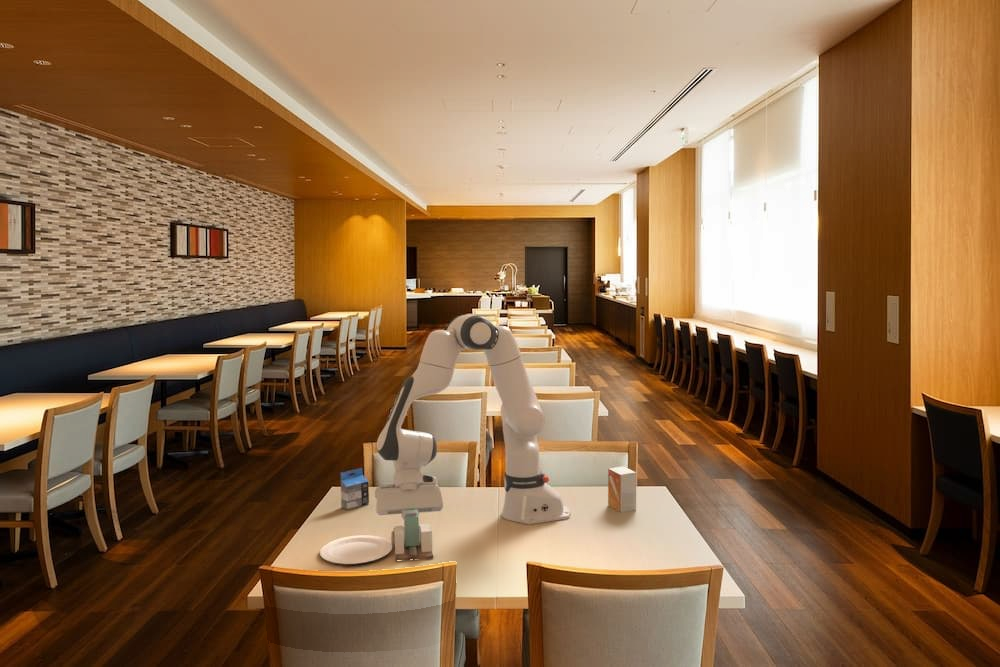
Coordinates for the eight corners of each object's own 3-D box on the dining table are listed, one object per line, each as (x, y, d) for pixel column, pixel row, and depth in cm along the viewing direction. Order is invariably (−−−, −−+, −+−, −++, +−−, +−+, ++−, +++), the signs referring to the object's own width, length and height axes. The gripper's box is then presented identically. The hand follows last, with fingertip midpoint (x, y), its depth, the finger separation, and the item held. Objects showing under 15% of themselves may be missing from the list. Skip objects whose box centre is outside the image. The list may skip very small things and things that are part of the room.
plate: (346, 536, 232) (346, 531, 232) (405, 545, 224) (405, 540, 224) (304, 562, 213) (304, 556, 213) (367, 573, 205) (367, 567, 205)
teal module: (418, 537, 225) (417, 506, 224) (419, 545, 219) (418, 513, 218) (404, 538, 225) (403, 507, 223) (405, 546, 219) (404, 514, 218)
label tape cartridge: (346, 510, 255) (345, 475, 253) (341, 507, 258) (339, 472, 256) (369, 504, 260) (368, 469, 259) (363, 501, 263) (362, 467, 262)
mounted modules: (430, 543, 222) (430, 523, 222) (432, 551, 216) (431, 531, 216) (394, 546, 221) (394, 526, 220) (395, 554, 215) (394, 533, 214)
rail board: (427, 528, 237) (427, 524, 237) (433, 558, 214) (432, 554, 213) (393, 530, 235) (393, 526, 235) (395, 561, 212) (395, 557, 212)
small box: (607, 505, 256) (607, 468, 255) (623, 502, 259) (623, 465, 257) (620, 512, 249) (620, 474, 247) (636, 510, 251) (636, 472, 250)
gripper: (374, 481, 229) (375, 523, 221) (441, 477, 233) (444, 518, 224) (374, 490, 234) (375, 532, 226) (440, 486, 238) (443, 527, 229)
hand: (410, 525), depth 225 cm, fingers closed, pressing on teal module
